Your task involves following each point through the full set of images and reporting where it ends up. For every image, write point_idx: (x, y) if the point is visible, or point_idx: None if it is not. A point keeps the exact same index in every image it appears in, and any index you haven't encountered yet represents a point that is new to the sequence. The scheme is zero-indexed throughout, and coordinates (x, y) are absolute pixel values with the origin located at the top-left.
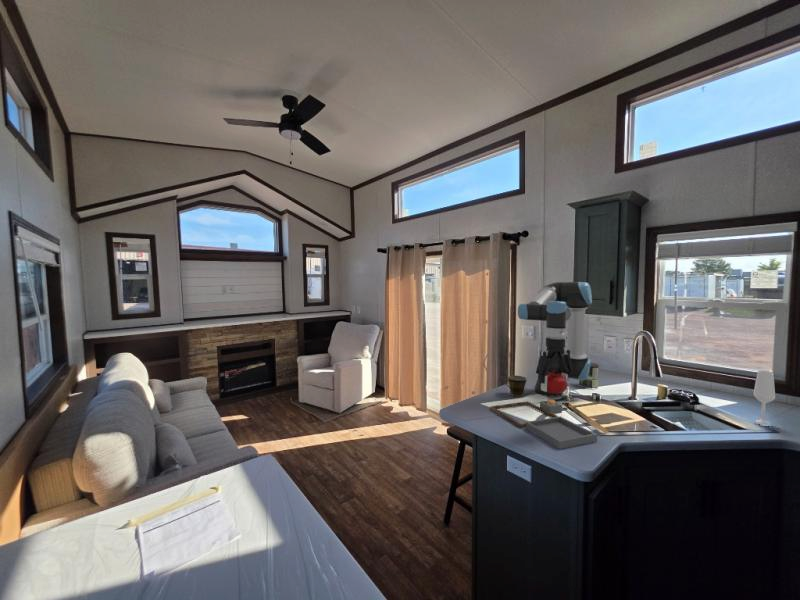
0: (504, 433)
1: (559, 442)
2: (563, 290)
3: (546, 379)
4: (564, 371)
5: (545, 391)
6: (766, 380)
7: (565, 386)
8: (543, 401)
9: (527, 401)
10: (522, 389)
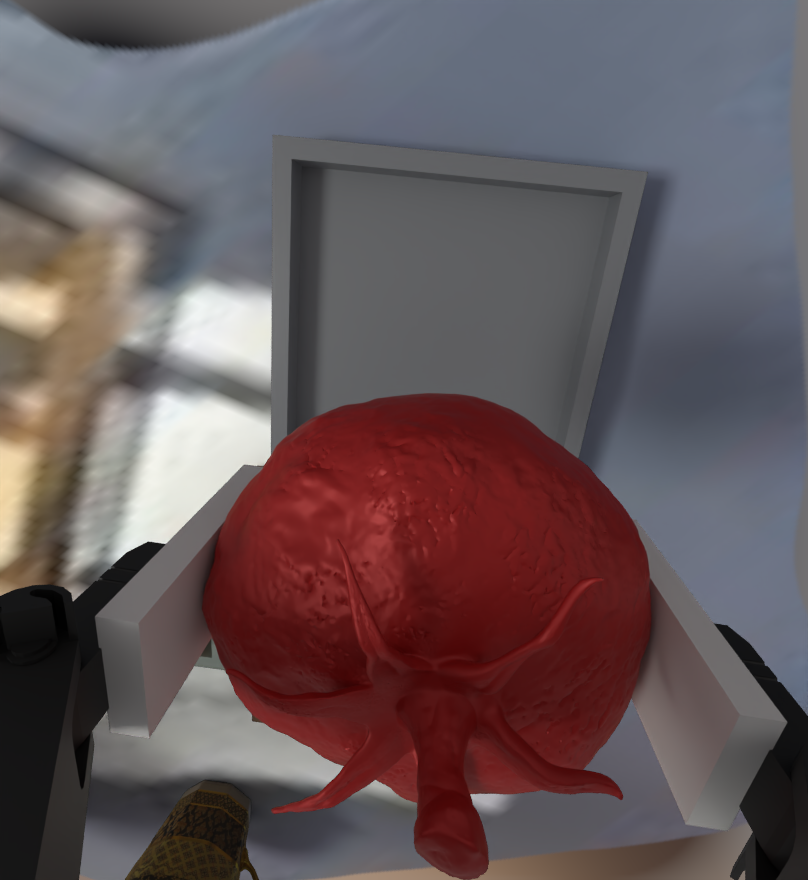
0: (731, 495)
1: (642, 177)
2: None
3: (718, 655)
4: (75, 736)
5: (636, 522)
6: None
7: (396, 397)
8: (203, 662)
9: (254, 719)
10: (188, 825)
